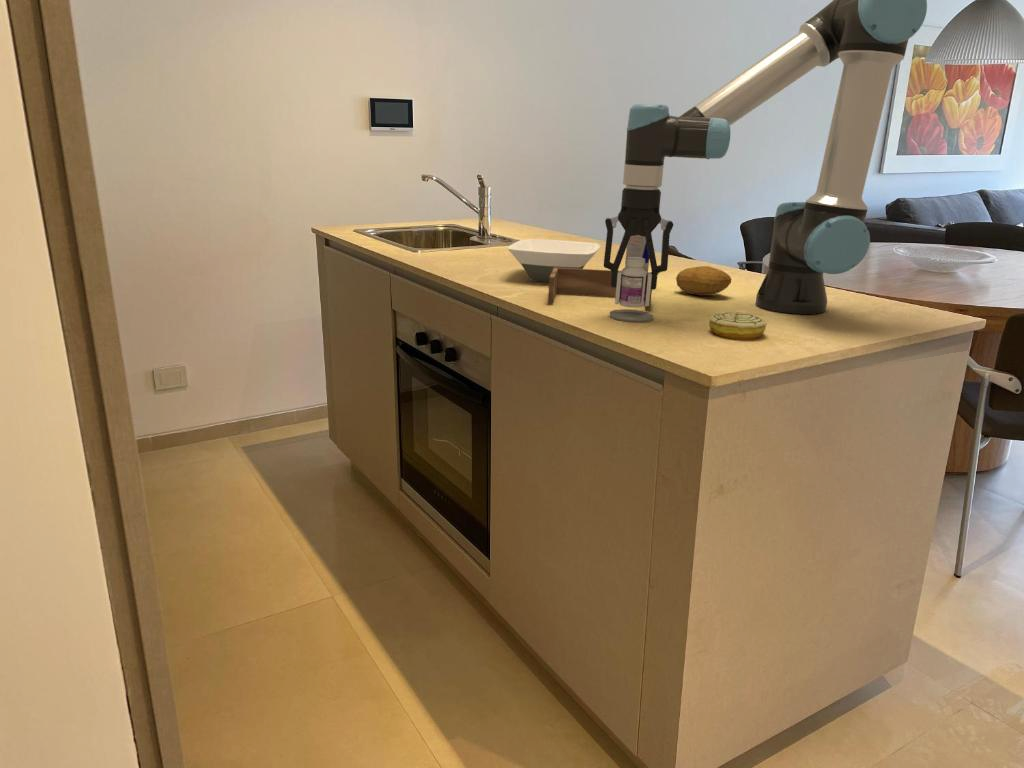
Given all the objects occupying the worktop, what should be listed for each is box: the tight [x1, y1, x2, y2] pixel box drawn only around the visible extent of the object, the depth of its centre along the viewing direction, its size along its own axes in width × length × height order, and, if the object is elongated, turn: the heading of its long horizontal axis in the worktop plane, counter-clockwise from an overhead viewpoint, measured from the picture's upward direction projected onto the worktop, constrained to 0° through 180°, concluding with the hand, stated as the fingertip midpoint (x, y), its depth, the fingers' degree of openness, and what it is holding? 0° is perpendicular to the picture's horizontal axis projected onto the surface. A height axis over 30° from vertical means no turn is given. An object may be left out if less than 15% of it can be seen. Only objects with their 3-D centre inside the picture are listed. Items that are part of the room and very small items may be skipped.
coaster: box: [609, 308, 654, 323], centre depth 159 cm, size 9×9×1 cm
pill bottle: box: [618, 257, 649, 309], centre depth 157 cm, size 5×5×10 cm
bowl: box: [507, 238, 602, 283], centre depth 197 cm, size 22×23×8 cm
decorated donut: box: [708, 311, 768, 340], centre depth 148 cm, size 10×11×4 cm
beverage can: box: [624, 235, 650, 272], centre depth 186 cm, size 6×6×15 cm
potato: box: [675, 265, 732, 296], centre depth 183 cm, size 9×13×7 cm
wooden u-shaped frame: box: [547, 267, 653, 312], centre depth 172 cm, size 14×22×6 cm, turn 83°
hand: (631, 303), depth 158 cm, fingers closed on pill bottle, 5 cm apart
